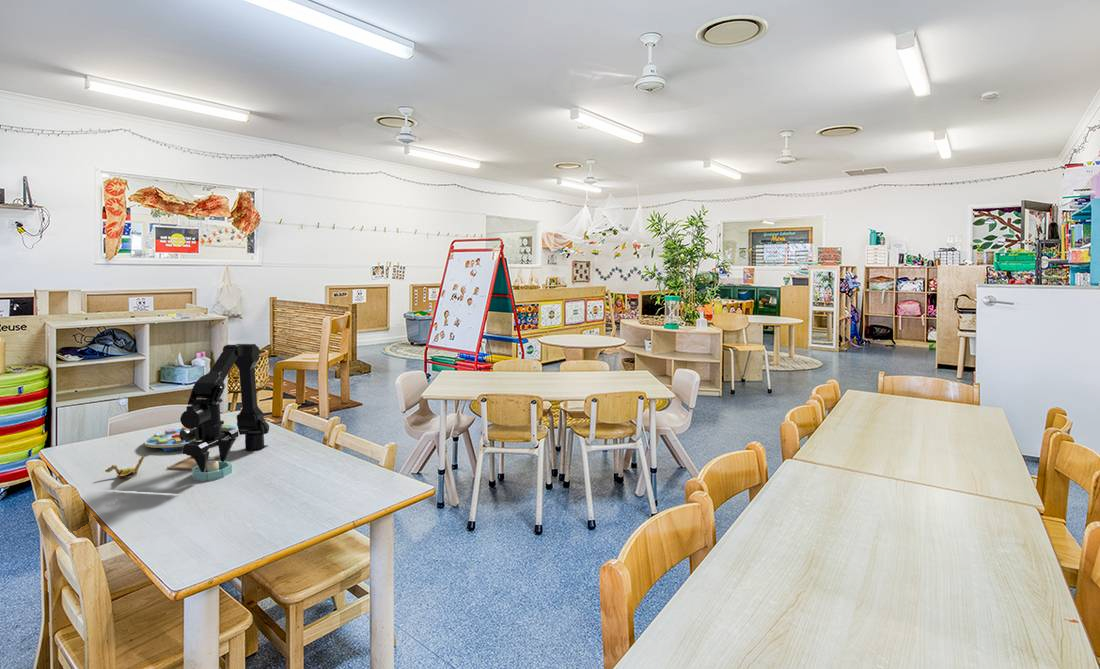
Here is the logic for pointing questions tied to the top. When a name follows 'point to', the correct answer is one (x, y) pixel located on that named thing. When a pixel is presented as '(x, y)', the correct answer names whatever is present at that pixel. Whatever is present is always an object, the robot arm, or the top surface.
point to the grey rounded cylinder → (210, 460)
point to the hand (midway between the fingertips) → (213, 466)
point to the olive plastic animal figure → (125, 471)
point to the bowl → (223, 471)
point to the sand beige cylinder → (212, 466)
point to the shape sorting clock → (172, 439)
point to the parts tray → (187, 464)
